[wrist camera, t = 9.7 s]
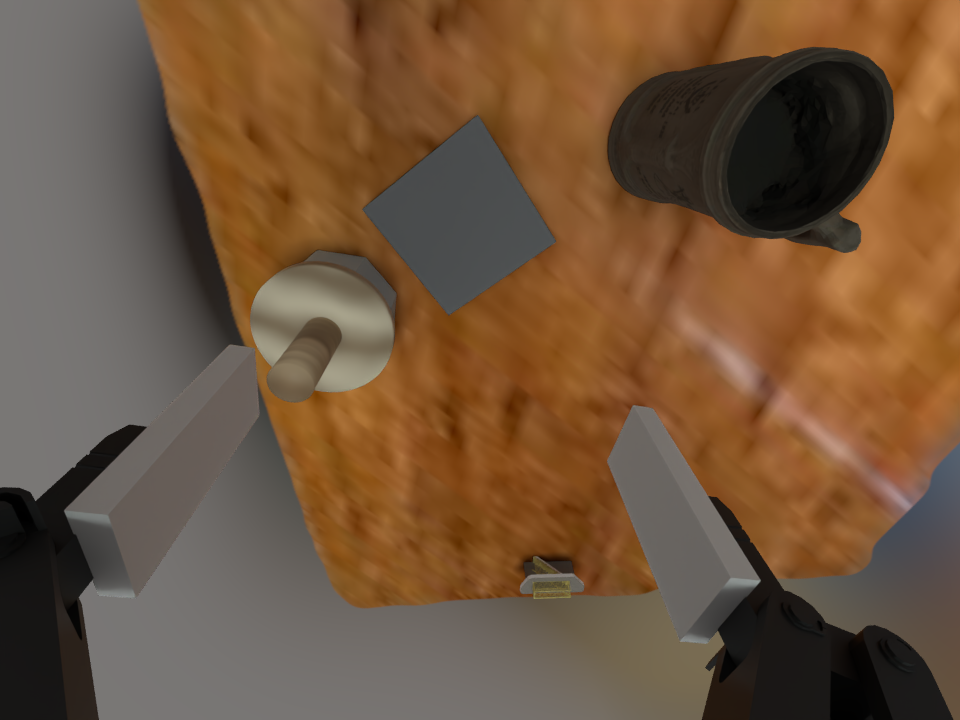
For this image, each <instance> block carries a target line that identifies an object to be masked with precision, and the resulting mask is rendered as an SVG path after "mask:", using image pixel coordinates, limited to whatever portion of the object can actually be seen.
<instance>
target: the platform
mask: <svg viewBox="0 0 960 720" xmlns="http://www.w3.org/2000/svg"><path fill="white" fill-rule="evenodd" d="M524 570H525V577H526V579H525V580H524V581H523V583H522V584H521V585H520V591H521V593H522V594H529V593H533V596H534V599H539V598H540V596H541V594H542V593H545V595H544V596H543V598H544V597H545V596H546V594H547V593H550V595H549V596H548V597H546V598H569V597H571V595H570V592H582V591H583V590H584V583H583V582H582V581H581V580H580V579H579V578H578V577H577V576H575V575H574V571H573V566H572V562H571V561H552V562H545V561H543V560H542V559H540V558H539V557H534V556H533V562H524ZM563 592H564V593H565V594H564V596H563V597H560V596H561V594H562V593H563ZM568 592H569V595H568V594H567V593H568ZM537 593H540V595H539V596H538V598H535V596H536V595H537ZM552 593H555V594H554V596H553V597H550V596H551V594H552ZM557 593H560V594H559V596H558V597H555V596H556V594H557ZM566 594H567V595H568V597H565V596H566Z"/></svg>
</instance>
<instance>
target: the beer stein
mask: <svg viewBox="0 0 960 720" xmlns="http://www.w3.org/2000/svg"><path fill="white" fill-rule="evenodd" d="M893 120H894V107H893V91H892V89H891V87H890V84H889V82H888V80H887V78H886V76H885V73H884V71H883V70H882V69H881V68H879V67H878V66H877V65H876V64H875V63H874V62H873V61H872V60H871V59H870V58H868V57H866V56H864V55H861V54H859V53H857V52H854V51H849V50H842V49H838V48H823V47H810V48H804V49H799V50H796V51H792V52H789V53H786V54H783V55H781V56H777V57H774V58H772V57H769V56H759V57H751V58H745V59H740V60H737V61H731V62H725V63H721V64H715V65H707V66H704V67H697V68H693V69H690V70H685V71H681V72H676V71H675V72H668V73H664V74H661V75H659V76H656V77H653V78H651V79H649V80H648V81H646V82H645V83H643V84H642V85H640V86H639V87H638V88H637V89H636V90H635V91H634V92H633V93H631V94H630V95H629V96H628V97H627V99H626V100H625V102H624V103H623V104H622V106H621V107H620V109H619V111H618V113H617V115H616V117H615V119H614V121H613V124H612V128H611V132H610V136H609V144H608V158H609V162H610V166H611V170H612V172H613V174H614V176H615V178H616V180H617V181H618V182H619V184H620V185H621V186H622V187H623V188H624V189H625V190H626V191H628V192H629V193H631V194H632V195H634V196H637V197H640V198H643V199H647V200H650V201H654V202H659V203H672V204H677V205H680V206H683V207H686V208H689V209H692V210H695V211H698V212H700V213H703V214H706V215H708V216H711V217H713V218H714V219H715V220H716V221H717V222H718V223H719V224H720V225H722V226H723V227H725V228H727V229H728V230H730V231H732V232H734V233H737V234H739V235H743V236H747V237H752V238H767V239H778V238H785V239H787V240H790V241H793V242H796V243H801V244H807V245H815V246H824V247H828V248H831V249H834V250H837V251H840V252H843V253H847V252H851V251H854V250H856V249H857V247H858V246H859V244H860V242H861V230H860V228H859V225H858V224H857V223H854V222H852V221H850V220H847V219H845V218H843V217H841V215H840V214H839V212H840V211H842V210H843V209H844V208H845V207H846V206H847V205H848V204H849V203H850V202H851V201H852V200H853V199H854V198H855V197H856V196H857V195H858V194H859V193H860V192H861V190H862V189H863V188H864V186H865V185H866V184H867V182H868V181H869V180H870V178H871V177H872V175H873V173H874V172H875V170H876V168H877V167H878V165H879V163H880V161H881V159H882V156H883V154H884V151H885V149H886V147H887V144H888V141H889V137H890V133H891V129H892V125H893Z"/></svg>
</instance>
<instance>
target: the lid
mask: <svg viewBox="0 0 960 720" xmlns="http://www.w3.org/2000/svg"><path fill="white" fill-rule="evenodd" d="M250 324H251V330H252V335H253V338H254V341H255V343H256V345H257V347H258V349H259V351H260V352H261V354H262V356H263V357H264V358H265V360H266V361H267V362H268V363H269V364H270V365H271V366H272V368H271V370H270V371H269V373H268V375H267V384H268V387H269V389H270V390H271V392H272V393H273V394H274V395H275V396H277V397H278V398H280V399H282V400H284V401H288V402H301V401H304V400H306V399H308V398H309V397H310V396H311V395H312V393H313V391H314V390H317V391H323V392H342V391H348V390H352V389H356V388H358V387H361V386H363V385H365V384H367V383H368V382H370V381H371V380H373V379H374V378H375V377H376V376H377V375H378V374H379V373H380V372H381V371H382V370H383V368H384V367H385V366H386V364H387V362H388V360H389V358H390V354H391V351H392V348H393V345H394V339H395V324H394V319H393V315H392V312H391V310H390V307H389V305H388V303H387V302H386V300H385V298H384V297H383V295H382V294H381V293H380V291H379V290H378V289H377V288H376V287H375V286H374V285H373V284H372V283H371V282H370V281H368V280H367V279H366V278H365V277H363V276H362V275H360V274H359V273H357V272H355V271H353V270H351V269H349V268H347V267H344V266H341V265H338V264H334V263H330V262H322V261H308V262H302V263H297V264H294V265H291V266H289V267H287V268H285V269H283V270H281V271H280V272H278V273H277V274H275V275H274V276H273V277H272V278H271V279H269V280H268V281H267V282H266V283H265V284H264V285H263V286H262V287H261V289H260V290H259V291H258V293H257V295H256V297H255V299H254V301H253V305H252V308H251V315H250Z"/></svg>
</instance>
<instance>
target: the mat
mask: <svg viewBox="0 0 960 720" xmlns="http://www.w3.org/2000/svg"><path fill="white" fill-rule="evenodd" d="M362 210H363V211H364V212H365V213H366V215H367V216H368V217H369V218H370V220H371V221H372V222H373V223H374V225H375V226H376V227H377V228H378V229H379V231H380V232H381V233H382V234H383V236H384V237H385V238H386V239H387V240H388V242H389V243H390V244H391V245H392V247H393V248H394V249H395V250H396V251H397V253H398V254H399V255H400V256H401V258H402V259H403V260H404V261H405V262H406V264H407V265H408V266H409V267H410V269H411V270H412V271H413V272H414V274H415V275H416V276H417V277H418V278H419V280H420V281H421V282H422V283H423V285H424V286H425V287H426V288H427V289H428V291H429V292H430V293H431V294H432V296H433V297H434V298H435V299H436V300H437V302H438V303H439V304H440V305H441V307H442V308H443V309H444V310H445V311H446V313H447V314H448V315H450V314H451V313H453V312H454V311H456V310H457V309H459V308H460V307H462V306H463V305H465V304H466V303H468V302H469V301H470V300H472V299H473V298H475V297H476V296H478V295H479V294H481V293H482V292H484V291H485V290H486V289H488V288H489V287H491V286H492V285H494V284H495V283H497V282H498V281H500V280H501V279H503V278H504V277H505V276H507V275H508V274H510V273H511V272H513V271H514V270H516V269H517V268H519V267H520V266H522V265H523V264H524V263H526V262H527V261H529V260H530V259H532V258H533V257H535V256H536V255H538V254H539V253H540V252H542V251H543V250H545V249H546V248H548V247H549V246H551V245H552V244H554V243H555V242H556V240H555V239H554V237H553V236H552V234H551V232H550V231H549V229H548V227H547V226H546V224H545V223H544V221H543V219H542V218H541V216H540V215H539V213H538V211H537V210H536V208H535V206H534V205H533V203H532V202H531V200H530V198H529V197H528V195H527V193H526V192H525V190H524V189H523V187H522V185H521V184H520V182H519V181H518V179H517V177H516V176H515V174H514V172H513V171H512V169H511V168H510V166H509V164H508V163H507V161H506V160H505V158H504V156H503V155H502V153H501V151H500V150H499V148H498V147H497V145H496V143H495V142H494V140H493V138H492V137H491V135H490V134H489V132H488V130H487V129H486V127H485V126H484V124H483V122H482V121H481V119H480V117H479V116H478V115H477V116H476V117H474V118H473V119H472V120H471V121H469V122H468V123H467V124H466V125H465V126H463V127H462V128H461V129H460V130H459V131H457V132H456V133H455V134H454V135H452V136H451V137H450V138H449V139H448V140H446V141H445V142H444V143H443V144H441V145H440V146H439V147H438V148H437V149H435V150H434V151H433V152H432V153H430V154H429V155H428V156H427V157H426V158H424V159H423V160H422V161H421V162H419V163H418V164H417V165H416V166H415V167H413V168H412V169H411V170H410V171H408V172H407V173H406V174H405V175H404V176H402V177H401V178H400V179H399V180H397V181H396V182H395V183H394V184H393V185H391V186H390V187H389V188H388V189H386V190H385V191H384V192H383V193H382V194H380V195H379V196H378V197H377V198H375V199H374V200H373V201H372V202H371V203H369V204H368V205H367V206H366V207H364V208H363V209H362Z"/></svg>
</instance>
